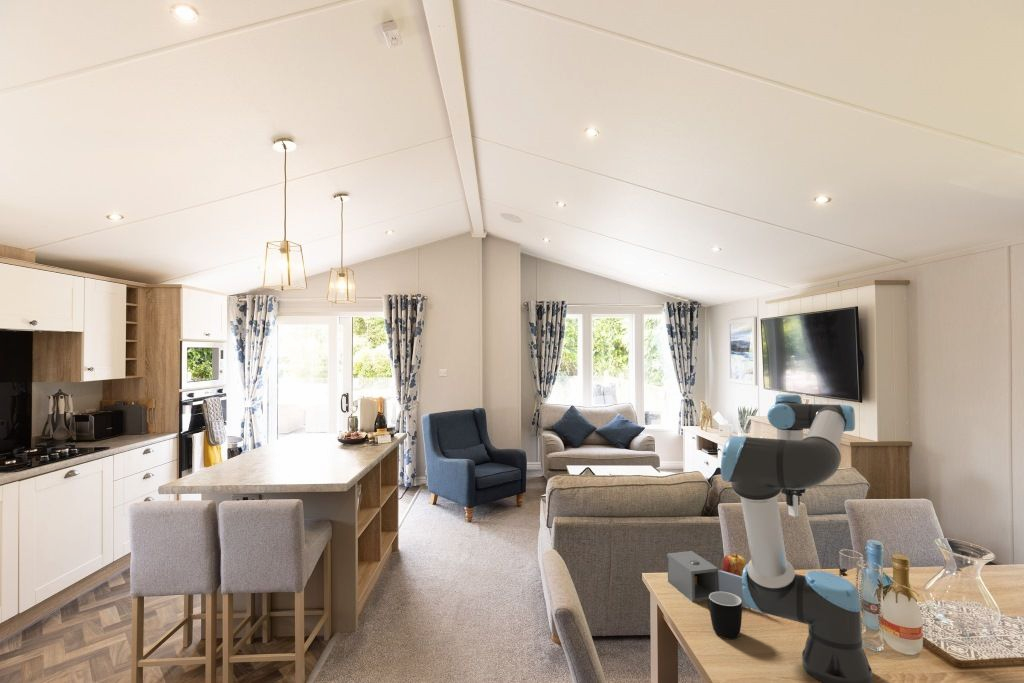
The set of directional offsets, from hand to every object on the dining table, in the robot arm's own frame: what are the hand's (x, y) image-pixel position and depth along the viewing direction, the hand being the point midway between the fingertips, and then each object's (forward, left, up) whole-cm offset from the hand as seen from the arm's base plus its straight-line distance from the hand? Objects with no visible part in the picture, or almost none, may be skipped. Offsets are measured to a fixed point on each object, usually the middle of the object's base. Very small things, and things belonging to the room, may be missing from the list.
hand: (793, 515), depth 161 cm
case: (+20, +25, -29) cm, 43 cm away
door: (+7, +17, -29) cm, 35 cm away
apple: (+21, +7, -30) cm, 37 cm away
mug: (-6, +31, -30) cm, 43 cm away
